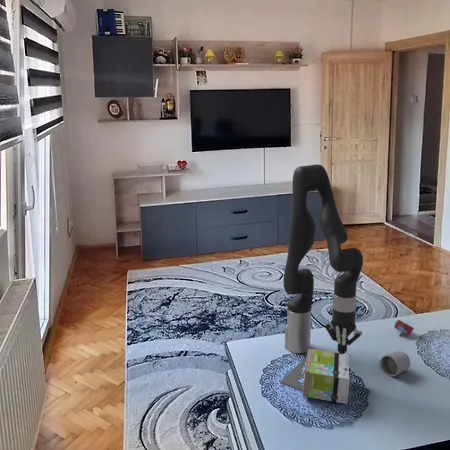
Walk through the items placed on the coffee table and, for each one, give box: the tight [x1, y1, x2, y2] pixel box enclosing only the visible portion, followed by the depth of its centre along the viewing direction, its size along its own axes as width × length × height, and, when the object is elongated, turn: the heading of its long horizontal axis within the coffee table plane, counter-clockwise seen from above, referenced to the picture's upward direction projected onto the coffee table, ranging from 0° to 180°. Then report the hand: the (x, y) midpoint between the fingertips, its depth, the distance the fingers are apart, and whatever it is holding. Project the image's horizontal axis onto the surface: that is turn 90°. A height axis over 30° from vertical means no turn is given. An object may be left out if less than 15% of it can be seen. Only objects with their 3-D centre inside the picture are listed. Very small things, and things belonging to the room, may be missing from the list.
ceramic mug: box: [377, 350, 411, 377], centre depth 179 cm, size 11×8×8 cm
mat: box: [279, 356, 307, 392], centre depth 178 cm, size 14×20×1 cm
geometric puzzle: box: [393, 319, 415, 337], centre depth 204 cm, size 7×7×8 cm
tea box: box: [302, 348, 351, 405], centre depth 167 cm, size 15×10×15 cm
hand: (342, 353), depth 167 cm, fingers closed
